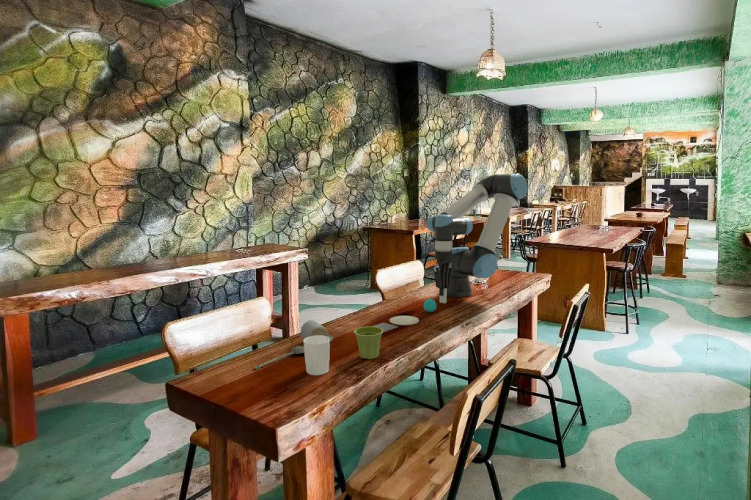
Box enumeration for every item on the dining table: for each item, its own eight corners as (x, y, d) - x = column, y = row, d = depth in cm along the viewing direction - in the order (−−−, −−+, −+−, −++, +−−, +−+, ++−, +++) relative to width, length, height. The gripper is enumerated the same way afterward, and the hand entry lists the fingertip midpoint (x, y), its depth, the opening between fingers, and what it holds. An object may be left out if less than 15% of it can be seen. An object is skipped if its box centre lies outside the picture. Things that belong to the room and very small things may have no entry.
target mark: (402, 314, 202) (402, 314, 202) (425, 320, 194) (425, 319, 194) (383, 320, 193) (383, 320, 193) (405, 327, 185) (405, 326, 185)
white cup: (305, 366, 148) (304, 335, 146) (330, 365, 149) (329, 334, 147) (303, 377, 140) (302, 344, 139) (330, 375, 141) (329, 343, 139)
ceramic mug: (311, 349, 163) (310, 327, 162) (300, 342, 170) (299, 321, 168) (337, 343, 169) (337, 322, 168) (326, 337, 176) (325, 316, 175)
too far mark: (383, 323, 191) (383, 322, 191) (398, 327, 185) (398, 326, 185) (369, 327, 185) (369, 327, 185) (384, 332, 179) (384, 331, 179)
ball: (429, 309, 209) (429, 297, 208) (439, 311, 205) (439, 299, 205) (421, 311, 205) (421, 299, 205) (431, 314, 202) (431, 301, 201)
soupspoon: (316, 355, 161) (304, 351, 165) (316, 345, 160) (304, 342, 165) (262, 373, 145) (249, 368, 149) (261, 362, 144) (249, 358, 149)
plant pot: (362, 363, 149) (362, 337, 148) (350, 354, 158) (349, 329, 156) (388, 358, 154) (388, 332, 152) (375, 349, 162) (374, 324, 161)
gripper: (445, 247, 215) (444, 298, 219) (427, 250, 206) (427, 303, 210) (459, 249, 210) (458, 301, 214) (441, 252, 201) (440, 306, 204)
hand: (443, 302), depth 212 cm, fingers closed
